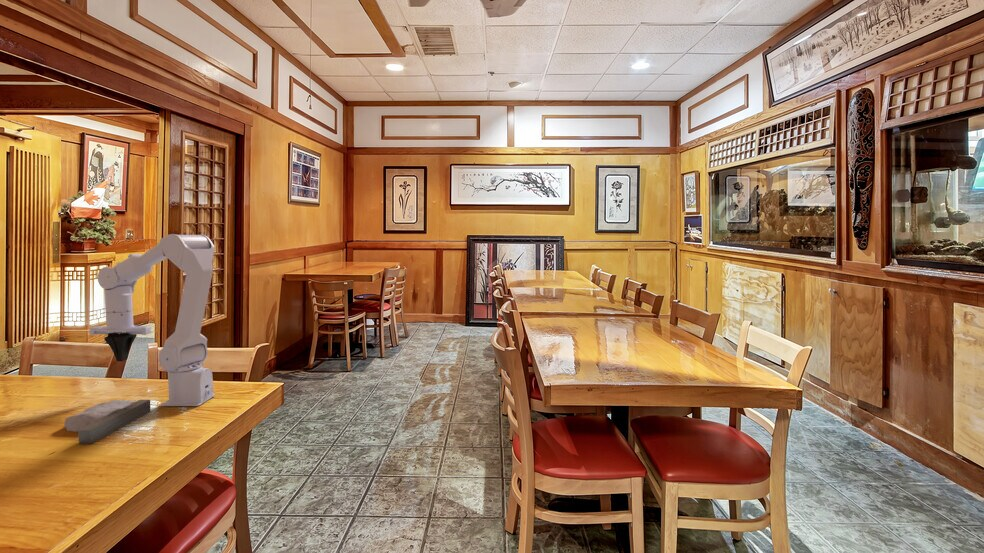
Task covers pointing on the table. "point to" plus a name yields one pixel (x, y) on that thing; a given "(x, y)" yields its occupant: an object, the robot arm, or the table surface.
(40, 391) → the table surface
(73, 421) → the stone block
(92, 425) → the bar
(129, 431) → the table surface
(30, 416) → the table surface
